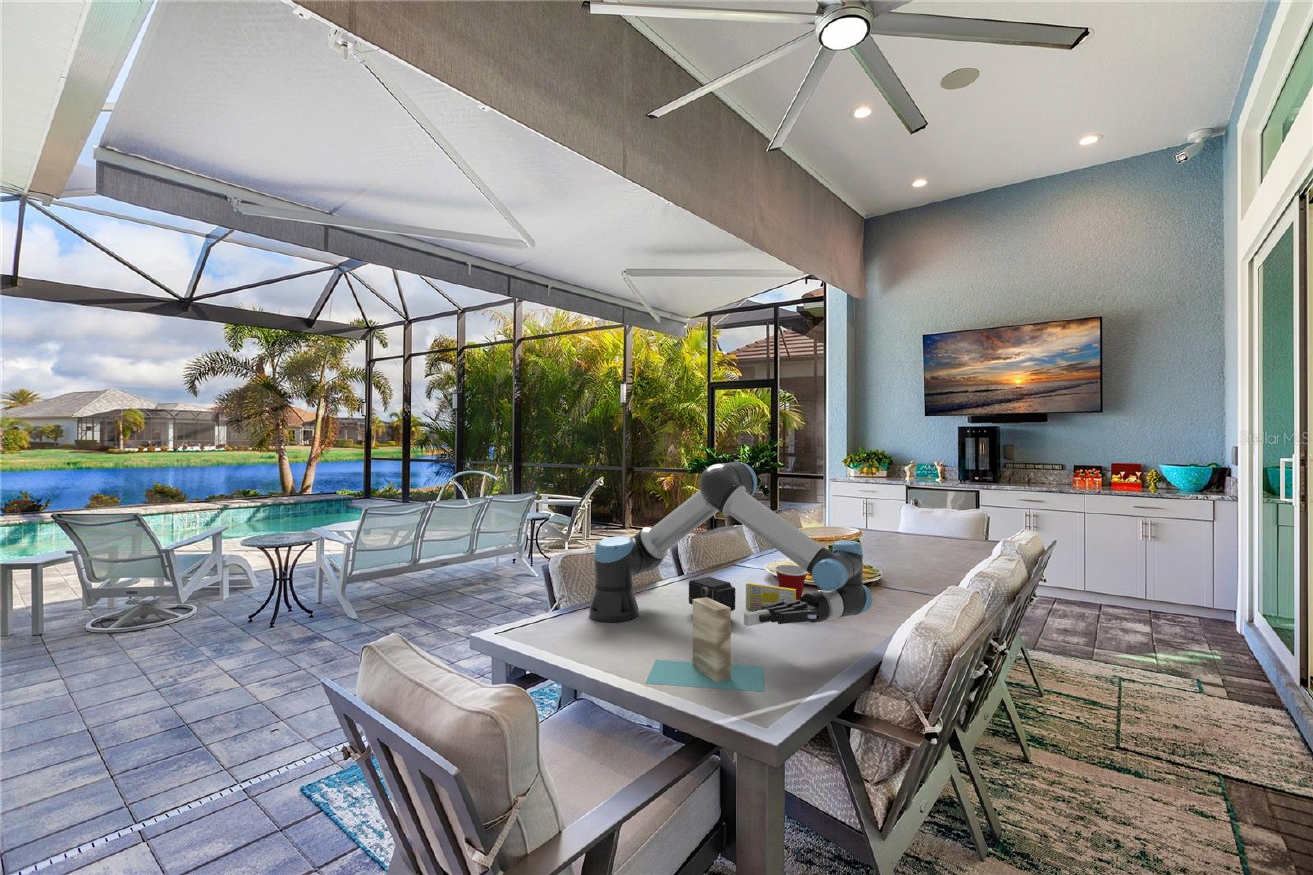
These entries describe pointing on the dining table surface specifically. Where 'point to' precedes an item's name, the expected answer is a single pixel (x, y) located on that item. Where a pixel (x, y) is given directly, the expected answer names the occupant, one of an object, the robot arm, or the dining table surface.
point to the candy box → (766, 595)
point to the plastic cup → (791, 578)
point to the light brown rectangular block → (712, 638)
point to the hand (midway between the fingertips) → (745, 619)
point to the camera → (712, 591)
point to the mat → (691, 677)
